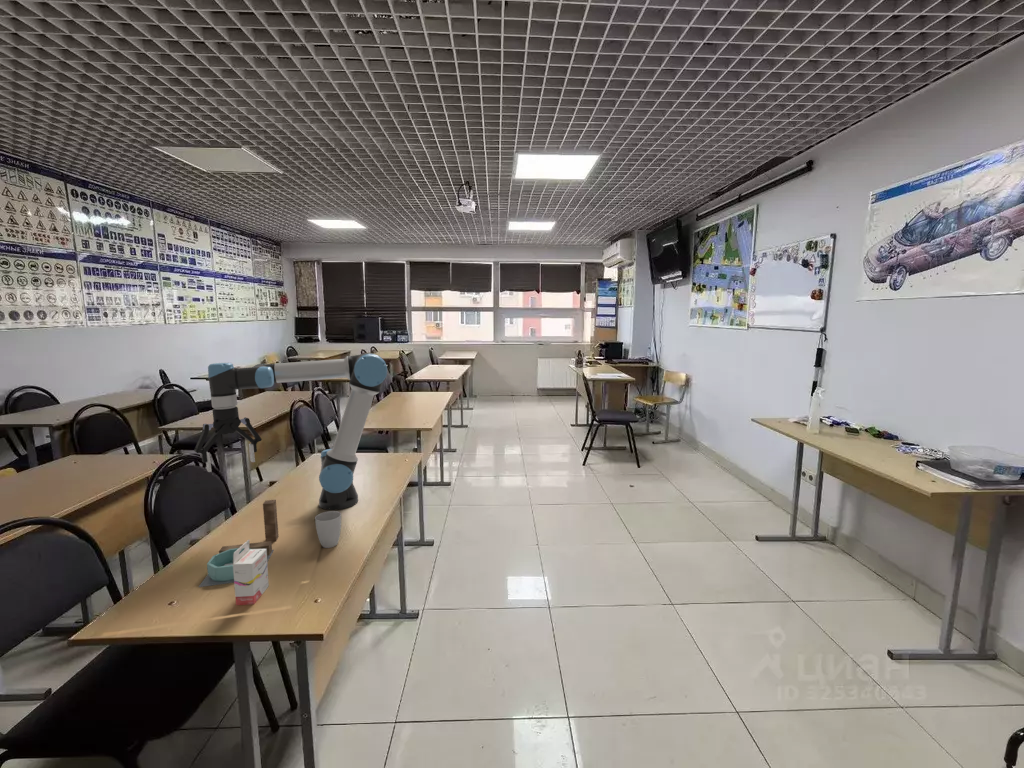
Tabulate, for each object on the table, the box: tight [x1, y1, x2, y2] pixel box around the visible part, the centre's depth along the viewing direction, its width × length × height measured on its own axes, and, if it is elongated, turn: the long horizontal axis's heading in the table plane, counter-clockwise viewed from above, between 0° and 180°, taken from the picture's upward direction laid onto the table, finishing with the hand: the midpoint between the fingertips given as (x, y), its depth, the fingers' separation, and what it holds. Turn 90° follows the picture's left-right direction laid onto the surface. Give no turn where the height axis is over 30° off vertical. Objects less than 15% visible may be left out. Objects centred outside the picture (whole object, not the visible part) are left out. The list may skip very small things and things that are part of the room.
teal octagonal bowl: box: [206, 548, 250, 582], centre depth 132 cm, size 11×11×4 cm
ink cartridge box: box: [233, 539, 269, 606], centre depth 120 cm, size 9×5×15 cm, turn 5°
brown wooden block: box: [262, 499, 280, 542], centre depth 152 cm, size 3×3×14 cm
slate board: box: [198, 549, 275, 588], centre depth 135 cm, size 15×18×1 cm
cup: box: [314, 510, 342, 549], centre depth 149 cm, size 8×8×10 cm
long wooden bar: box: [218, 541, 273, 555], centre depth 141 cm, size 14×3×3 cm, turn 105°
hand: (231, 466), depth 158 cm, fingers open, 13 cm apart
